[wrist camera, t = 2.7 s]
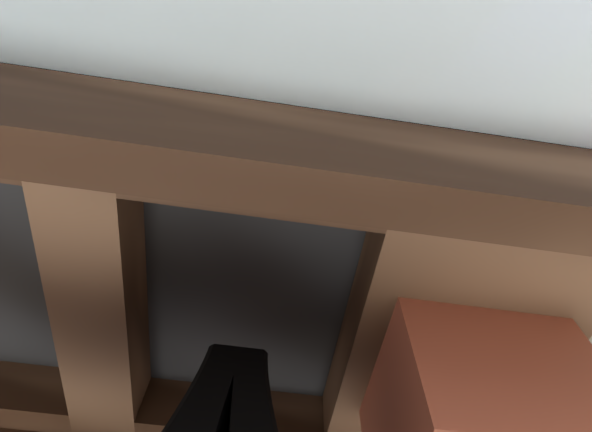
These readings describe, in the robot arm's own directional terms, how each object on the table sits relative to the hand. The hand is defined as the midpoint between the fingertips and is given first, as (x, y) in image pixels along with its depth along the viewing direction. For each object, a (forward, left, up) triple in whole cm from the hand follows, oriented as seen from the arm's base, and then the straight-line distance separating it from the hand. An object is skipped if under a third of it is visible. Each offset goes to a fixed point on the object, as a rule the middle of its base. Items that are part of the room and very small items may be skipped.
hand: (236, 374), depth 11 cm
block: (0, -6, -1) cm, 6 cm away
